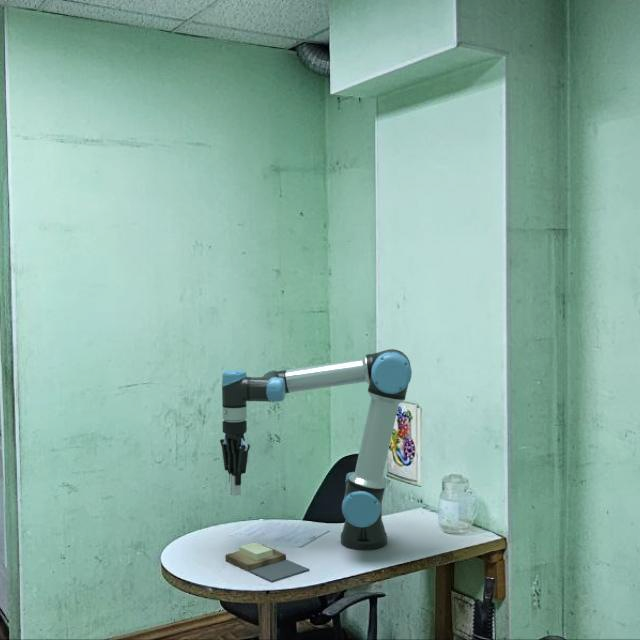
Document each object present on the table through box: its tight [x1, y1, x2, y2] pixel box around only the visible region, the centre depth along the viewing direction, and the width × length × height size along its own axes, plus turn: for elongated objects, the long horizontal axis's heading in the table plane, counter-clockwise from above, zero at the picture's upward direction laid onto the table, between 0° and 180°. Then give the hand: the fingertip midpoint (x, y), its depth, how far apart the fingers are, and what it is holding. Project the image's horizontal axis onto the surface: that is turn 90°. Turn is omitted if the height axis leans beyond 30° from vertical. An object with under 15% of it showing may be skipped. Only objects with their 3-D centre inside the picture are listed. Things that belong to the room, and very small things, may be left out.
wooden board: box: [225, 544, 287, 573], centre depth 255 cm, size 14×12×2 cm
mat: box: [249, 559, 310, 583], centre depth 246 cm, size 14×10×1 cm
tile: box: [238, 542, 273, 561], centre depth 255 cm, size 9×6×2 cm, turn 41°
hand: (235, 494), depth 262 cm, fingers closed
